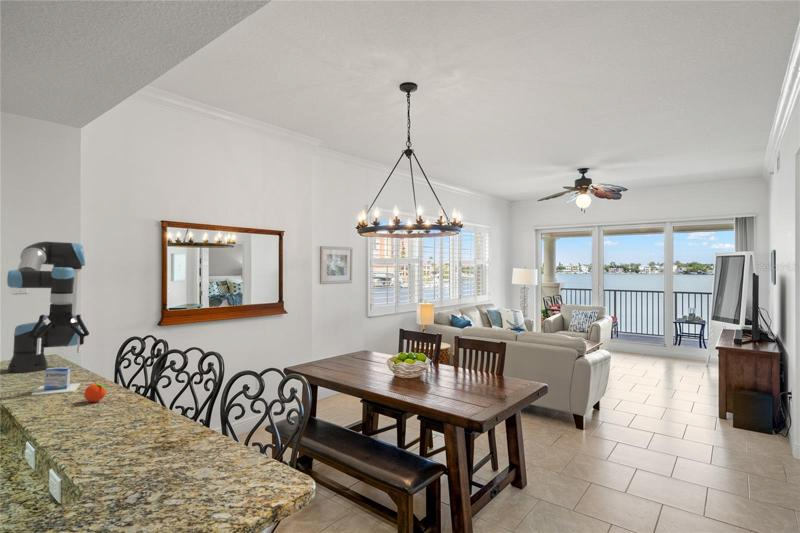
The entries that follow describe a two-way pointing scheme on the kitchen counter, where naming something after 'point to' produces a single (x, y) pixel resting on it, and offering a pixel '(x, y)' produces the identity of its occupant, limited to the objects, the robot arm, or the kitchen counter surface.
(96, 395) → the clementine
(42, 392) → the mat
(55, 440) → the kitchen counter surface
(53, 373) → the medicine box
